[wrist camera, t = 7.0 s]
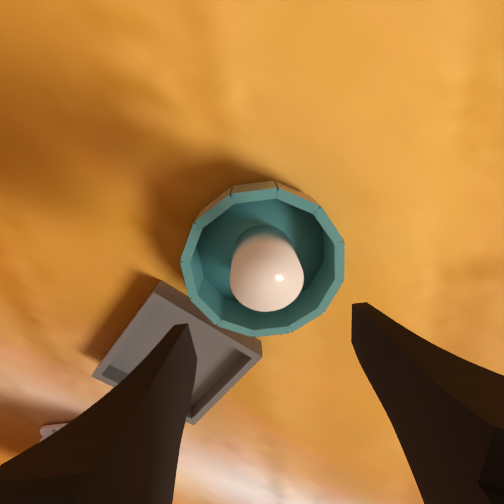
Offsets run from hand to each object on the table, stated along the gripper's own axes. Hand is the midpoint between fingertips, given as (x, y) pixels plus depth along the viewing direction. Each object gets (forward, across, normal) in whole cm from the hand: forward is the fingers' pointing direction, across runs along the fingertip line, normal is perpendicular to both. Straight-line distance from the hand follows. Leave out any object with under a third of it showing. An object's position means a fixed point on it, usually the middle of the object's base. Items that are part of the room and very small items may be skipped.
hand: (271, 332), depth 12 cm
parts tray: (+9, +8, +8) cm, 15 cm away
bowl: (+9, 0, 0) cm, 9 cm away
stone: (+9, 0, 0) cm, 9 cm away
